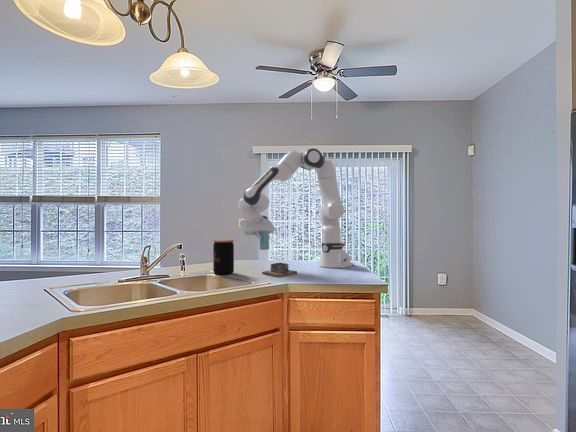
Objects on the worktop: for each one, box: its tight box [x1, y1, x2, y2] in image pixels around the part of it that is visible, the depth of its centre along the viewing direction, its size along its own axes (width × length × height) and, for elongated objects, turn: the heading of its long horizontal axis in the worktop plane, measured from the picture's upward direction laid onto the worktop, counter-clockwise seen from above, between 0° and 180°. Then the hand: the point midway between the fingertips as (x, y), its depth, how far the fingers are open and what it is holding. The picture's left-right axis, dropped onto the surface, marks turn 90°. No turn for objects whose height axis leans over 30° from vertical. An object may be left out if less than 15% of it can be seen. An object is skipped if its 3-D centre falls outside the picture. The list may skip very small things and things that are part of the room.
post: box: [259, 231, 270, 251], centre depth 185 cm, size 4×4×10 cm
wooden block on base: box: [261, 262, 298, 278], centre depth 176 cm, size 14×12×5 cm
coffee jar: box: [212, 238, 235, 276], centre depth 177 cm, size 11×11×18 cm
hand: (265, 238), depth 185 cm, fingers closed on post, 4 cm apart
